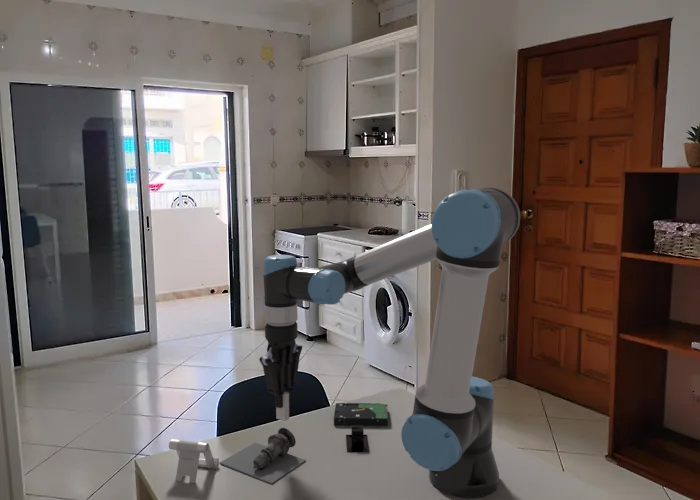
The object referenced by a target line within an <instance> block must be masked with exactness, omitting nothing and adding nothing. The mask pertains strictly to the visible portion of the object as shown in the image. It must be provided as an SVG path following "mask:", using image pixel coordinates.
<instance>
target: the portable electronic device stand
mask: <svg viewBox="0 0 700 500" xmlns="http://www.w3.org/2000/svg"><path fill="white" fill-rule="evenodd" d="M168 448H169V450H174V451H176V453H177V457H178V462H177V468H176V475H175V481H177V482H182V480H183V477H184V476H187V477H189V483H190V484H194V483H196V482H197V475H198V468H207V469H211V470H213V469H215V470H217V469H218V468H219V465H220V460H219V457H214V456H213V453H212V449H211V447H210V445H209V443H208V442H201V441H200V442H199V441H191V440H183V439H174V438H173V439H170V440H169V442H168ZM201 454H203V457H204V459H203V458H200V455H201Z"/></svg>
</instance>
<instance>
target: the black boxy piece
mask: <svg viewBox="0 0 700 500" xmlns="http://www.w3.org/2000/svg"><path fill="white" fill-rule="evenodd" d="M350 427H351V432H350V433H351V434H345V444H346V445H345V446H346V453H349V454H351V453H370V447H369V437H368V434H364V433H365V431H364V426H363V425H351V426H350Z"/></svg>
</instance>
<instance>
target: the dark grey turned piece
mask: <svg viewBox="0 0 700 500" xmlns="http://www.w3.org/2000/svg"><path fill="white" fill-rule="evenodd" d="M267 445H268V446H267V447H266V448H265V449H262V450H261V453H260V454H259V455H258V456H257V457H256V458H255V459H254V462H253V463H254V466H253V469H256V468H257V469H263V468H264V467H265V466H266V465H267V464H268V463H272V462H273V459H274V458H275V457H276V456H280V457H285V456H286V455H287V454H288V452H289V450H290V448H293V447H295V445H296V437H295V436H294V434H293V432H291V431H290V430H289V429H288V428H285V427H281V428H279V429H278V431H277V433H274V434H272V435H269V437H268V438H267Z"/></svg>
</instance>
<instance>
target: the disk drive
mask: <svg viewBox="0 0 700 500" xmlns="http://www.w3.org/2000/svg"><path fill="white" fill-rule="evenodd" d="M334 406H335V407H334V414H333V426H340V427H344V426H349V427H351V425H363V427H389V408H388V407H389V406H388V404H387V403H370V402H369V403H366V402H365V403H364V402H363V403H362V402H361V403H360V402H359V403H358V402H357V403H356V402H355V403H354V402H353V403H351V402H339V403H337V402H336V403H335V405H334Z"/></svg>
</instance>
